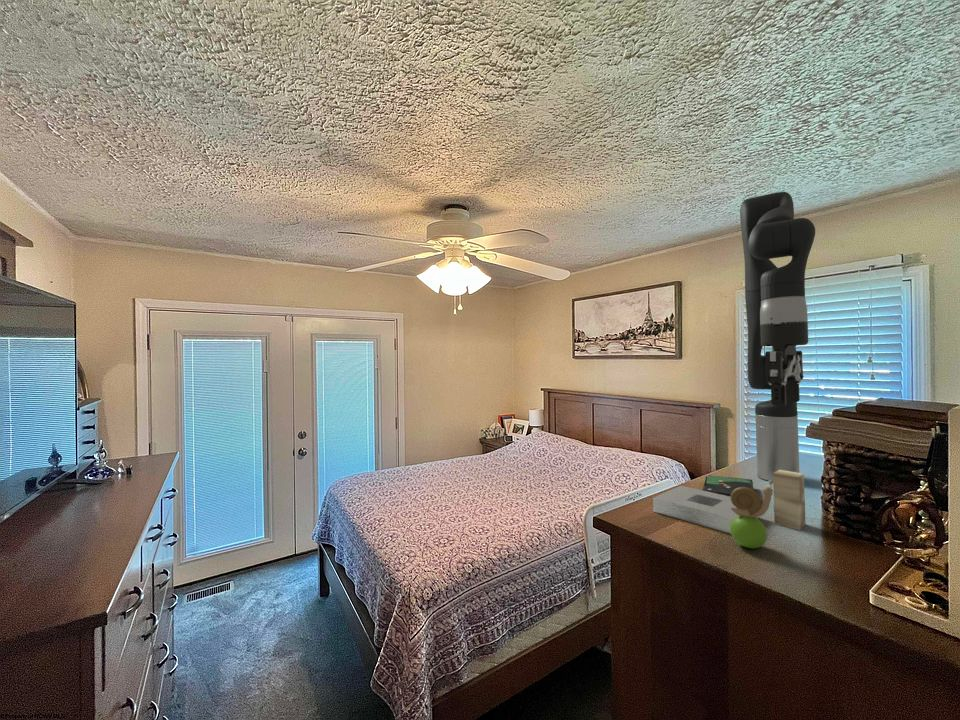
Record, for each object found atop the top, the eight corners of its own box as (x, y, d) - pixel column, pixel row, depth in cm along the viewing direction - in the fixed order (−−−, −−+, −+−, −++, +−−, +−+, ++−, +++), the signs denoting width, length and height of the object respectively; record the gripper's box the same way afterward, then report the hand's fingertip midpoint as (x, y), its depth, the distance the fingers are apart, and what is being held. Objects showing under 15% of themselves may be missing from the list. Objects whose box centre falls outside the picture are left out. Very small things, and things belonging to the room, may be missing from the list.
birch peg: (781, 518, 82) (779, 469, 82) (805, 524, 79) (803, 473, 79) (774, 523, 80) (772, 473, 80) (799, 530, 76) (797, 477, 76)
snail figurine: (776, 558, 66) (774, 485, 66) (730, 549, 69) (728, 480, 69) (773, 545, 71) (771, 477, 71) (730, 537, 74) (728, 472, 74)
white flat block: (681, 498, 95) (680, 485, 95) (759, 517, 83) (758, 502, 83) (653, 511, 88) (653, 497, 88) (735, 535, 75) (734, 519, 75)
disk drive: (756, 509, 89) (752, 489, 101) (755, 496, 89) (752, 478, 101) (702, 501, 94) (705, 483, 107) (702, 489, 94) (705, 473, 107)
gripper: (772, 325, 87) (775, 399, 87) (748, 322, 78) (750, 405, 78) (817, 321, 81) (819, 401, 81) (795, 318, 72) (798, 408, 72)
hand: (785, 403), depth 79 cm, fingers open, 8 cm apart
